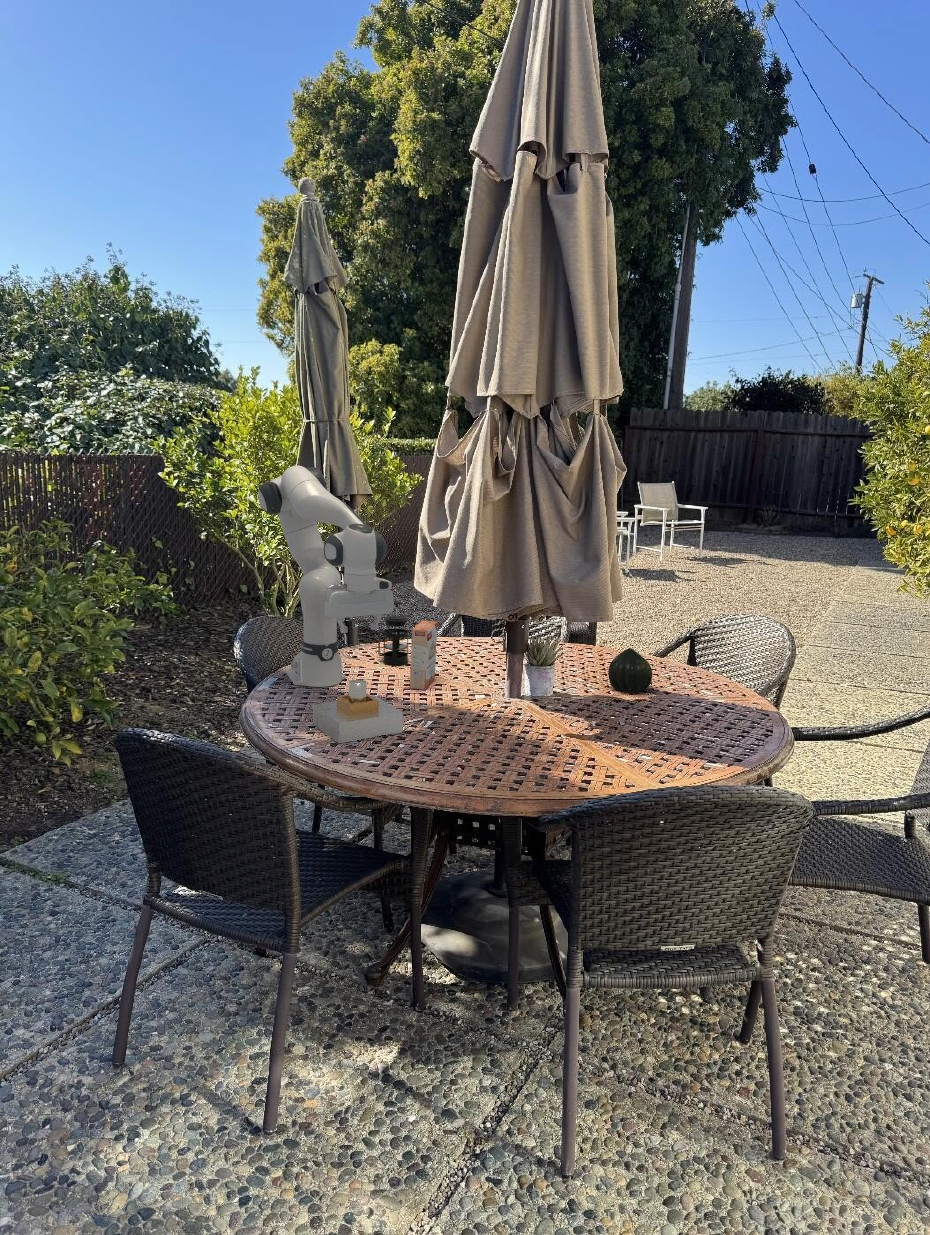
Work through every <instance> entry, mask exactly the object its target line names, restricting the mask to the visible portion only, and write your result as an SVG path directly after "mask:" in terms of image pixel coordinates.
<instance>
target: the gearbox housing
mask: <svg viewBox="0 0 930 1235" xmlns="http://www.w3.org/2000/svg"><path fill="white" fill-rule="evenodd" d="M312 726H315V727H316V728H317V729H318V730H320V731H321V732H323V733H324V734H325V735H326V734H327V735H326V736H328V737H329V738H330V739H332V740H333V741H335V743H337V742H338V743H342V744H345V743H344V742H348V743H350V742H349V741H353V742H357V740H359V741H362V740H361V739H364V740H367V739H366V738H370V739H372V738H371V737H375V736H376V737H375V738H378V737H377V736H381V735H386V736H389V735H388V734H392V735H396V734H403V733H402V732H404V731H403V730H404V727H403V726H404V712H403V711H401V710H399V708H396V707H395V706H393V705H391V704H390V703H388V702H387V701H385V700H383V699H381V698H380V697H378V696H376V695H370V694H368V692H366V702H361V703H354V704H351V703H350V702H349V694H344V695H337V696H336V700H334V701H327V702H321V703H314V704H312ZM381 737H382V736H381ZM338 743H337V744H338Z"/></svg>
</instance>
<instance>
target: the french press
mask: <svg viewBox="0 0 930 1235" xmlns="http://www.w3.org/2000/svg"><path fill="white" fill-rule="evenodd" d="M394 605H395V608H396V610H395V612H396V613H395V615H388V616H384V618H383V619H384V621H385V625H386V626H387V627H388V626H389V627H394V628H387V629H384V630H379V631H378V641H377V643H378V645H377V646H378V649H377V654H378V656H383V658H382V663H383V664H384V665H385V666H389V667H403V666H407V665H409V660H408V659H409V630H407V629H404V628H400V627H405V625H406V623H407V621H409V617H407V616H403V615H398V608H399V605H403V602H402V601H399V600H397V601H394ZM398 627H399V628H398ZM382 633H383V652H381V634H382ZM386 637H387V638H392V639H391V640H392V642H391V643H386ZM402 638H407V639H406V640H407V641H406V643H405V644H404V643H400V641H401V640H400V639H402ZM385 649H386V650H388V651H385ZM403 650H404V651H403ZM405 650H406V651H405Z"/></svg>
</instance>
